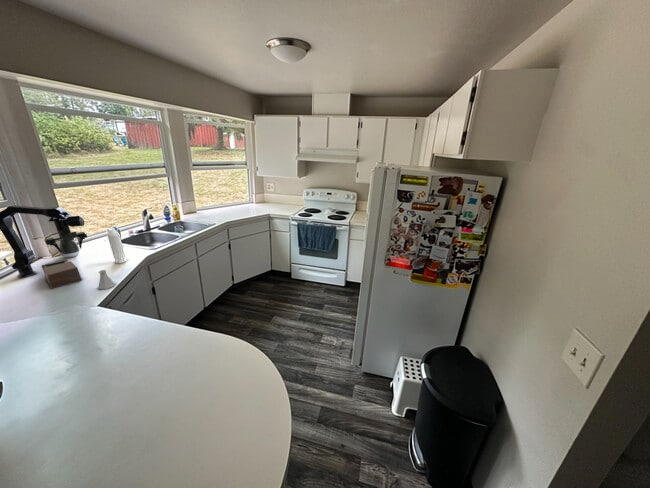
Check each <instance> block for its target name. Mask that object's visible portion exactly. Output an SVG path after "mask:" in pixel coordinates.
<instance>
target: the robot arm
mask: <svg viewBox="0 0 650 488" xmlns="http://www.w3.org/2000/svg"><path fill="white" fill-rule="evenodd" d="M17 214H26V215H37V216H39V215H40V216H44V217H47V218H49V220H48V222H50V223H51V222H53V224H54V226H55V230H56V232H57V235H58V237H55V238H54V236H53V237H47V238H44V239H43V241H44V242H45V245H46V246H53V247H54V248H55V249H57V250H58V252H59V253H60V252H61V250H60V248H59V244H58V243H57V242H60V241H61V240H63V241H64V242H67V241H72V240H74V241H75V239H77V243H78V247H79V249H80V250H81V249H82V245H83V244H82V243H83V241H84V240H85V239H86V238H88V235H87V233H86V232H84V231H81V232H77V231H72V230H71V228H75V227H84V226H85V219H84V218H83V217H81V215H72V214H71V213H69V212H67V211H66V210H65V209H64V208H63V207H62V206H49V207H38V206H26V205H17V204H13V205H9V206H7V207H6V208H4V209H3V210H1V211H0V232H1V233H2V235H3V237H4V238H5V240H6V241H7V243H8V245H9V246H10V247H11V249H12V251H13V259H14V261H15V262H14V263H13V264H12V265H11V268H12V269H13V270H17V272H18V276H19V279H23V278H26V277H31V276H34V275H35V276H36V275H37V273H36V271H35V270H34V269H33V267H32V265H31V264H33V263H34V260H35V259H36V254H35V253H34V250H33V249H27V248H26V247H25V245H24V243H23V242H22V240H21V238H20V237H19V234H17V231H16V230H15V229H14V227H13V226H14V225H13V224H14V221H13V218H12V217H14V216H15V215H17ZM61 253H62V252H61ZM61 253H60V254H61Z"/></svg>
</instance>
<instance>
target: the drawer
mask: <svg viewBox="0 0 650 488" xmlns="http://www.w3.org/2000/svg"><path fill="white" fill-rule="evenodd" d="M66 262H69V261H68V259H63V260H59V261H58V260H57V261H54V262H49V263H46V264H42V265H41V269H42V268H44V267H49V266H53V265H57V264H61V263H66Z"/></svg>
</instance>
